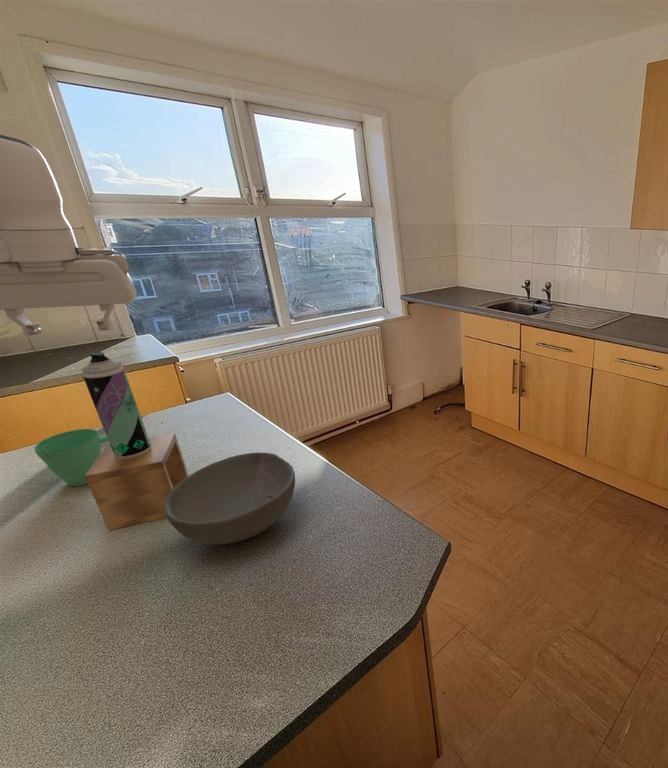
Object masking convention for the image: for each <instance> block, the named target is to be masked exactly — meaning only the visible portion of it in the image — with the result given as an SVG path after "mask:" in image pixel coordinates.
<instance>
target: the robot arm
mask: <svg viewBox="0 0 668 768" xmlns="http://www.w3.org/2000/svg"><path fill="white" fill-rule="evenodd" d="M129 271H130V265H129V263H128V260H127V258H126V256H125V255H124V254H123V253H122V252H120V251H118V250H115V249H113V248H111V247H102V248H95V247H94V248H93V247H79V246H78V243H77V239H76V237H75V234H74V231H73V229H72V225H71V223H69V221H68V219H67V218H66V217H65V214H64V211H63V198H62V196H61V193H60V189H59V186H58V184H57V181H56V179H55V177H54V175H53V172H52V170H51V168H50V165H49V164H48V161H47V160H46V158H45V157H44V155H43V154H42V152H41V151H40V150H39V149H38V148H37V147H35V146H34V145H32V144H31V143H29V142H28V141H25V140H23V139H19V138H16V137H12V136H7V135H4V134H0V311H4V313H5V315H6V317H7V318H9V319H10V320H11V321H13V323H15V324H16V325H18V326H20V327H21V329H22V332H23V334H24V335H25V336H26V337H28V336H29V337H30V336H39V335H41V334H42V329H41V328H40V323H39V322H31V321H30V320H29V319H28V318H26V317H25V316H24V315H23V314H25V313H26V311H25V309H26V310H27V309H43V308H44V309H45V308H47V309H48V308H64V307H65V308H66V307H85V306H99V309H100V311H101V312H104V315H103V316H102V318H99V319H98V320H96V326H98V328H97V329H98V331H100V332H102V331H104V332H105V331H112V330H114V325H113V323H112V317H113V315H114V312H115V310H116V306H115V305H125V304H127V305H128V304H131V303H133V302H134V300H136V298H137V297H138V292H137V290H136V287H135V285H134V283H133V280H132V278H131V275H130V274H129Z"/></svg>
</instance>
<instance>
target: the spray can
mask: <svg viewBox="0 0 668 768" xmlns="http://www.w3.org/2000/svg"><path fill="white" fill-rule="evenodd" d="M90 358H91V359H90V360H89V361H88V364H87V365H86V366H84V367H82V368H81V375H82V377H83V381H84V383H85V385H86V387H87V390H88V394H89V396H90V398H91V400H92V402H93V406H94V408H95V410H96V413H97V415H98V419H99V420H100V423H101V426H102V428H103V430H104V431H103V432H104V434H106V436H107V438H108V444H110V446H111V448H112V451H113V453H114V456H115V458H116V459H120V460H126V459H132V458H136V457H139V456H141V455H144V454H146V453H147V452H149V451H150V450H151V448H152V447H151V444H150V441H149V438H148V437H149V435H148V433H147V429H146V427H145V424H144V422H143V419H142V415H141V413H140V410H139V408H138V405H137V401H136V399H135V396H134V393H133V390H132V388H131V384H130V382H129V379H128V377H127V374H126V371H125V368H124V366H122V365H123V364H122V362H120V361H117V360H116V361H115V360H112V359H111V358H109V357H108V356H106V355H105V353H104V352H101V351H99V352H98V351H97V352H91V353H90Z"/></svg>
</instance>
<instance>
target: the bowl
mask: <svg viewBox="0 0 668 768" xmlns="http://www.w3.org/2000/svg"><path fill="white" fill-rule="evenodd" d="M188 475H189V476H188V477H187V478H185V479H184V480H182V481H181V482H180V483H179V484H177V485H176V486H175V487H174V488H173V489H172V491H171V492H170V493H169V494H168V496H167V498H166V500H165V502H164V512H165V515H166V517H165V518H166V519H167V521H168V522H169V523H170V525H171V526H172V527H173V528H174V529H175V530H176V531H177V532H178V533H179V534H181V536H183V537H185V538H187V539H189V540H191V541H193V542H196V543H199V544H200V543H201V544H205V545H228V544H233V543H237V542H241V541H244V540H247V539H249V538H252V537H254V536H256V535H259V534H260V533H262V532H264V531H265V530H267V529H269V527H271V526H272V525H273V524H275V523H276V522H277V521H278V520H280V518H281V517H282V516H283V514H284V513H285V511H286V510H287V508H288V507H289V505H290V503H291V501H292V498H293V495H294V491H295V487H296V473H295V470H294V467H293V465H291V463H289V462H288V461H287V460H285V459H284V458H282V457H280V456H279V455H277V454H275V453H271V452H247V453H242V454H237V455H233V456H230V457H226V458H224V459H220V460H218V461H216V462H213V463H211V464H208V465H206V466H204V467H202V468H200V469H198V470H196V471H194V472H193V473H191V474H188Z"/></svg>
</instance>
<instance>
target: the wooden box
mask: <svg viewBox="0 0 668 768" xmlns="http://www.w3.org/2000/svg"><path fill="white" fill-rule="evenodd" d="M148 438H149V441H150V444H151V447H152V448H151V450H150V451H149V452H147V453H146V454H144V455H141V456H139V457H136V458H132V459H126V460H120V459H116V458H115V456H114V453H113V451H112V448H111V446H110V443H107V444H106V445H105V447H104V448H103V449H102V450H101V454H100V455H99V456H98V458H97V459H96V461H95V462H94V463H93V465H92V466H91V468H90V469H89V470H88V472H87V473H86V475H85V478H86V480H87V482H88V484H87V485H88V487H89V489H90V491H91V494H92V496H93V499H94V501H95V503H96V505H97V507H98V510H99V512H100V515H101V517H102V519H103V522H104V524H105V525H106V528H107V531H113V530H118V529H122V528H126V527H130V526H131V527H132V526H135V525H140V524H143V523H147V522H152V521H156V520H161V519H164V518H167V517H166V515H165V512H164V502H165V500H166V498H167V496H168V494H169V493H170V492H171V491H172V489H173V488H174V487H175V486H176V485H177V484H179V483H180V482H181V481H182V480H184V479H185V478H187V477H188V476H189V475H190V474H189V472H188V469H187V466H186V463H185V459H184V455H183V453H182V449H181V447H180V445H179V441H178V438H177V434H176V432H171V433H165V434H160V435H154V436H153V435H152V436H148Z"/></svg>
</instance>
